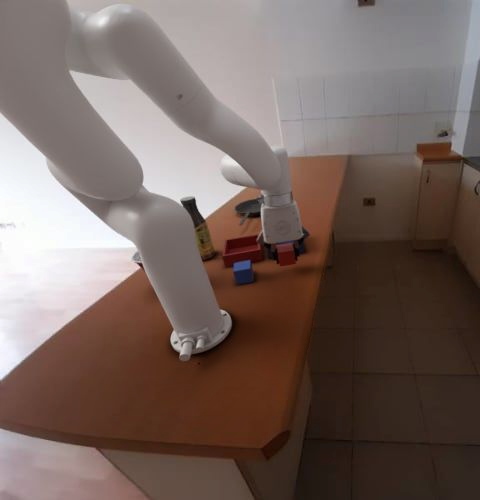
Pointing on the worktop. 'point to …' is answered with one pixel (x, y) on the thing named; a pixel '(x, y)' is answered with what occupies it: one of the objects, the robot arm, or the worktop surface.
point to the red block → (286, 254)
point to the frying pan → (248, 209)
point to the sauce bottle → (199, 228)
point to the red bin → (242, 250)
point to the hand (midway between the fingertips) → (286, 259)
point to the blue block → (243, 272)
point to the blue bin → (301, 247)
